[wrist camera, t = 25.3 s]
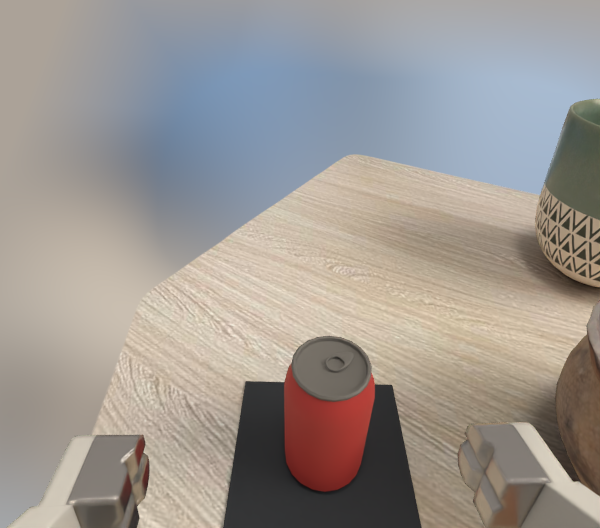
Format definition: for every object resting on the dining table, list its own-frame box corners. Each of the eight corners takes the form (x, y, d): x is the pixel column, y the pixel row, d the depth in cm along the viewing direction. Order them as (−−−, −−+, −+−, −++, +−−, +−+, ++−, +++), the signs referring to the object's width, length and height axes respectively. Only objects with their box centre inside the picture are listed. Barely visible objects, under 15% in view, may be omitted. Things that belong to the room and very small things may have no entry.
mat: (219, 554, 29) (219, 553, 29) (245, 382, 41) (245, 381, 41) (427, 559, 29) (427, 558, 29) (391, 386, 41) (392, 384, 41)
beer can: (376, 464, 34) (400, 373, 27) (316, 513, 31) (324, 425, 24) (328, 408, 38) (337, 318, 31) (270, 446, 35) (265, 355, 28)
